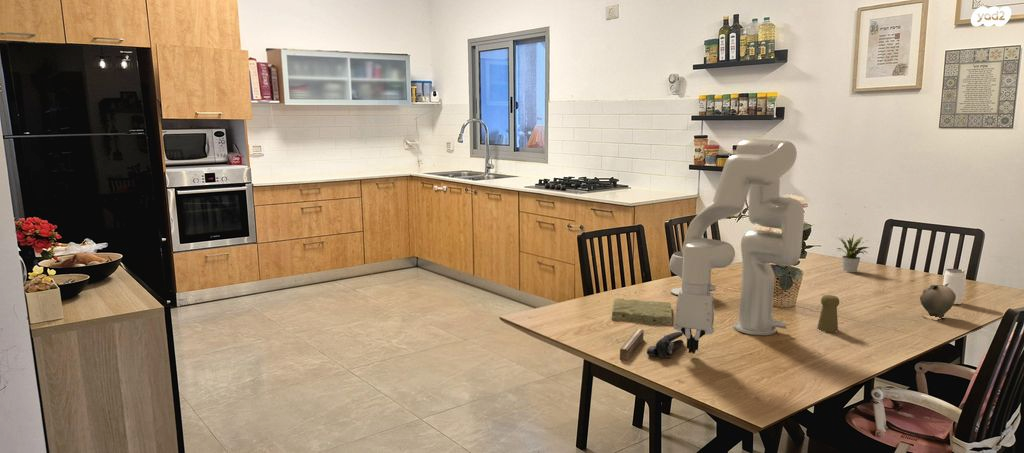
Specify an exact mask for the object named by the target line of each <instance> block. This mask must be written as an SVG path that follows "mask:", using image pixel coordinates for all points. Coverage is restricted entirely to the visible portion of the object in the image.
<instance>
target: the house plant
mask: <svg viewBox="0 0 1024 453" xmlns="http://www.w3.org/2000/svg"><path fill="white" fill-rule="evenodd" d="M854 237H855V234H853V235H852V237H851V238H850V237H848V239H846V241H845V240H844V238H845V236H844V235H842V237H841V238H840V237H837V239H839V240H840V241H841V242H842V244H843V248H844V249H845V250H846V251H845V250H844V249H843V248H841V247H837V248H836V250H837V251H838V252H844V253H845V255H842V256H841V261H842V262H841V263H842V271H843V270H844V271H847V272H846V273H849V272H856V271H858V267H859V264H860V262H861V261H860V260H861V257H860V256H858V255H859V254H861V253H862V254H863V255H865V254H869V253H868V252H867V251H866V249H870V246H869V247H868V246H861V247H860V245H862V244H863V243H865V242H868V241H870V240H865V241H862V239H863V238H864V237H862V236H859V237H858V238H857V239H856V240H855V241H854ZM844 271H843V272H844ZM856 273H857V272H856Z"/></svg>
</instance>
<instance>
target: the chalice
mask: <svg viewBox="0 0 1024 453" xmlns="http://www.w3.org/2000/svg"><path fill="white" fill-rule="evenodd" d="M668 264H669V269H670V271H671V272H672V273H673V274H675V275H676V276H678V277H679V278H680V279H682V273H683V250H681V251H675V252H673V254H672V255H671V258H670V259H669V263H668ZM680 290H682V287H675V288H672V289H671V290H670V292H671V294H673V295H676V296H678V294H679V291H680Z"/></svg>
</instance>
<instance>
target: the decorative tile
mask: <svg viewBox="0 0 1024 453" xmlns="http://www.w3.org/2000/svg"><path fill="white" fill-rule="evenodd" d="M672 312H673V311H672V303H671V302H667V301H657V300H656V301H655V300H639V299H625V298H614V299H613V303H612V312H611V320H613V321H627V322H635V323H636V322H637V323H640V324H641V323H642V324H654V325H655V324H656V325H668V326H670V325H671V326H672V325H673V315H672Z"/></svg>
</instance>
